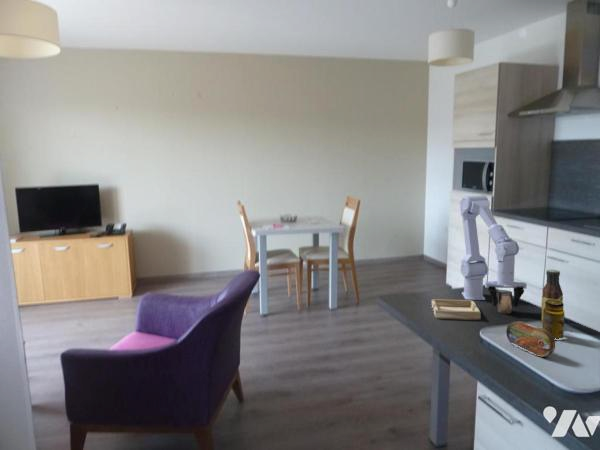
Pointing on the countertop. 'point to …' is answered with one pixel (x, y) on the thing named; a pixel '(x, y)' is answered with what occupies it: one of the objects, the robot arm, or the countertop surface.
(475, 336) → the countertop surface
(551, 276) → the sauce bottle
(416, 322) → the countertop surface
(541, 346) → the tin
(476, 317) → the tray
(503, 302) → the can
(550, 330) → the condiment
